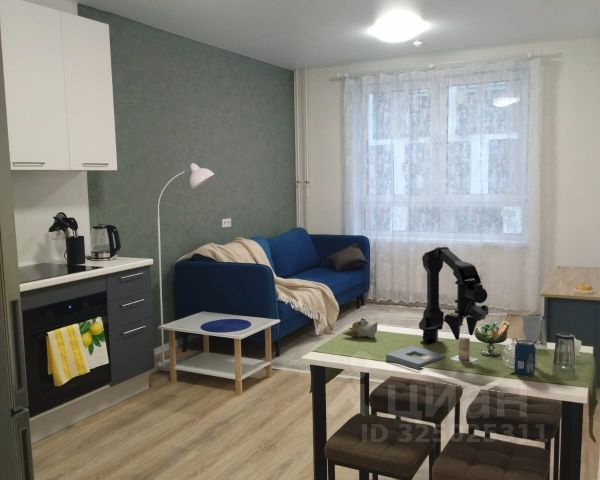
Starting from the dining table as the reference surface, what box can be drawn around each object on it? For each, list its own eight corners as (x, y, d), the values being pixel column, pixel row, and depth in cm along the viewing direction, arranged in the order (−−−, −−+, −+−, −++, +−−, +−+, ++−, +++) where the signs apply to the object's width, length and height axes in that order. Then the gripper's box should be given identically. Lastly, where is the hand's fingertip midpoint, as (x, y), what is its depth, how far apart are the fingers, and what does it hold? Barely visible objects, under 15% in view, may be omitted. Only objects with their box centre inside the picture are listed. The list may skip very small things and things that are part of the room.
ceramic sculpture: (374, 321, 247) (341, 320, 253) (375, 341, 248) (342, 339, 254) (380, 316, 257) (349, 315, 263) (381, 334, 258) (350, 333, 263)
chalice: (541, 362, 217) (542, 316, 215) (540, 368, 211) (542, 320, 209) (520, 360, 220) (522, 314, 218) (519, 365, 214) (521, 319, 212)
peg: (462, 356, 221) (462, 336, 220) (471, 358, 218) (471, 338, 217) (456, 358, 219) (456, 338, 218) (465, 361, 216) (465, 340, 215)
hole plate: (412, 351, 233) (412, 345, 233) (444, 361, 221) (444, 354, 220) (386, 360, 223) (386, 353, 222) (418, 370, 210) (418, 363, 210)
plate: (461, 357, 224) (461, 354, 224) (478, 362, 218) (478, 358, 218) (449, 362, 219) (449, 358, 219) (466, 367, 213) (467, 363, 213)
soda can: (519, 369, 210) (520, 338, 209) (538, 374, 205) (539, 341, 204) (510, 374, 205) (511, 342, 204) (529, 379, 200) (530, 346, 199)
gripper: (469, 305, 204) (468, 347, 206) (497, 297, 216) (496, 337, 217) (443, 300, 212) (442, 340, 214) (471, 292, 224) (471, 331, 226)
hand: (464, 337), depth 218 cm, fingers open, 9 cm apart
